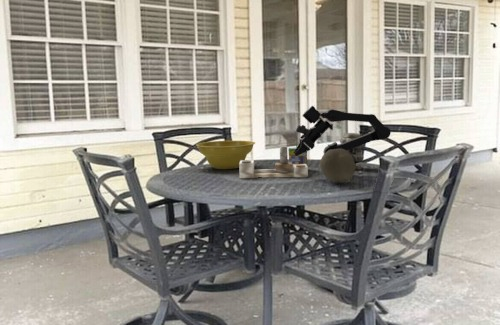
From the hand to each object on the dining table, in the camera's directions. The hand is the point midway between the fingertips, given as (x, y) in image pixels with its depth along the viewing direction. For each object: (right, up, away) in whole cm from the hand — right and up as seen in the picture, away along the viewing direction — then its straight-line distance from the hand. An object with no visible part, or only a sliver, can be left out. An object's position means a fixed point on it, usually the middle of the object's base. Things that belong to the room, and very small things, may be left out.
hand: (294, 154), depth 243 cm
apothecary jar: (+31, -7, +18) cm, 36 cm away
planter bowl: (-34, -7, +35) cm, 50 cm away
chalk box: (+3, -8, +18) cm, 20 cm away
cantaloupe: (+16, -13, -25) cm, 33 cm away
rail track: (-10, -10, +2) cm, 14 cm away
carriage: (-5, -7, +1) cm, 9 cm away
